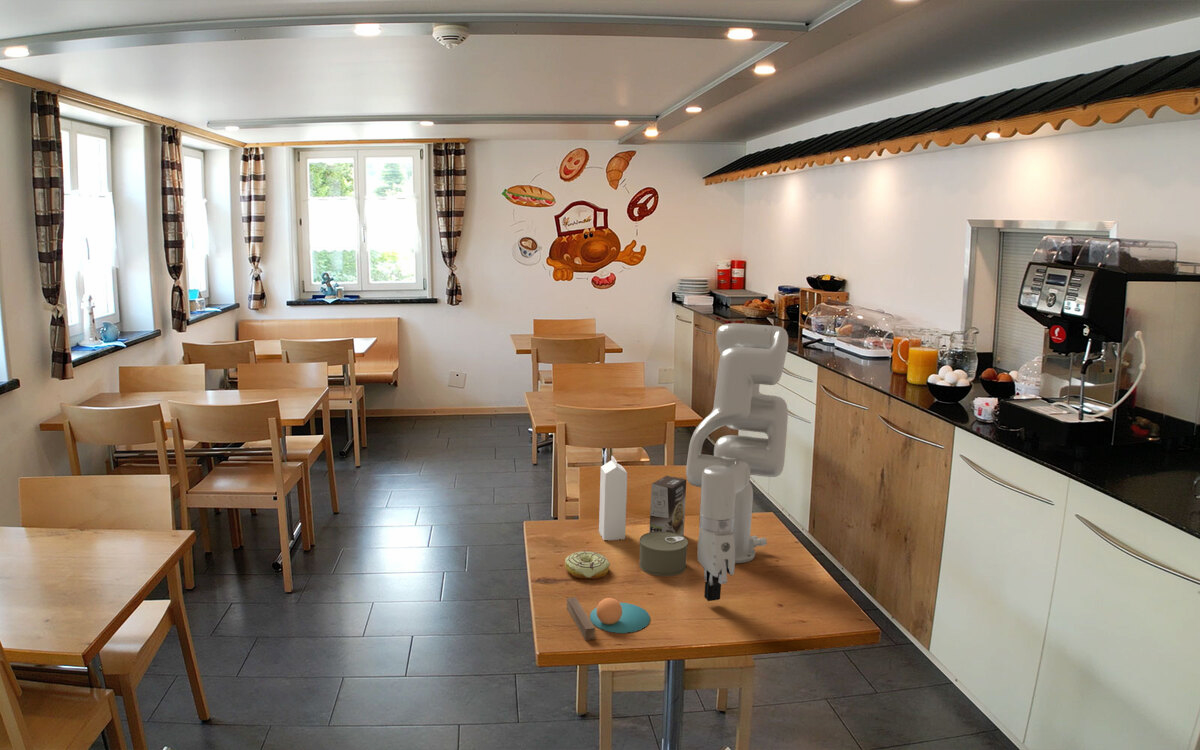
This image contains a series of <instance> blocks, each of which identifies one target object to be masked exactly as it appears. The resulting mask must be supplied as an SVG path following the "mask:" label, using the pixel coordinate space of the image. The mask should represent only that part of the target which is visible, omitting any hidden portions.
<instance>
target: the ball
mask: <svg viewBox="0 0 1200 750" xmlns="http://www.w3.org/2000/svg"><path fill="white" fill-rule="evenodd" d="M620 603H621V602H619V601H618V600H617V599H616V598H613V597H605V598H603V599H602V600H600V601H599V602H598V604H597V606H596V607H597V610H596V613H597V617H598V619H599V620H600V621H601V622H602V623H604V624H607V625H611V624H615V623H616V622H618V621H619V619H620V618H621V616H622V607H621V605H620Z"/></svg>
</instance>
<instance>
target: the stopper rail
mask: <svg viewBox="0 0 1200 750" xmlns="http://www.w3.org/2000/svg"><path fill="white" fill-rule="evenodd" d="M566 610H567V611H568V614H569V615H570V617H571V619H572V620H573V621H574V623H575V625H576V627H577V629H578V630H579V632H580V634H581V636H582V637H583V639H584V640H585V641H591V639H592V640H595V639H596V637H595V636H596V626H595V625H594V624H593V623H592V622H591V620H590V616H588V614H587V613H586V611H585V610H584V607H582V605H581V603H580V602H579V600H578V598H577V597H576V596H574V597H567V598H566Z"/></svg>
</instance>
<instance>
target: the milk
mask: <svg viewBox="0 0 1200 750" xmlns="http://www.w3.org/2000/svg"><path fill="white" fill-rule="evenodd" d="M599 478H600V479H599V480H600V481H599V484H600V486H599V515H598V516H599V517H598V518H599V519H598V523H599V524H598V533H599V536H600V537H601V536H602V537H601V538H602V540H603V541H604V540H608V541H620V540H619V539H621V540H622V539H623V540H626V524H627V523H626V522H627V520H626V519H627V498H628V496H627V493H628V472H627V471H626V469H625V468H624V467H623V466H622V464H619V463H618V462H617V460H616V458H615V457H614V455H611V460H609V461H608V462H606V463H605V464H603V465H601V466H600V477H599Z"/></svg>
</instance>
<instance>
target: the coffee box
mask: <svg viewBox="0 0 1200 750" xmlns="http://www.w3.org/2000/svg"><path fill="white" fill-rule="evenodd" d="M687 482H688V480H687V478H686V479H685V478H682V477H676V476H669V475H665V476H663V477H662V478H660V479H657V480H656V481H654V482H652V483H651V494H650V512H649V531H648V533H650V532H656V531H665V532H672V533H676V534H679V535H681V536H683V537H684V535H685V534H684V533H685V514H686V494H687Z"/></svg>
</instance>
